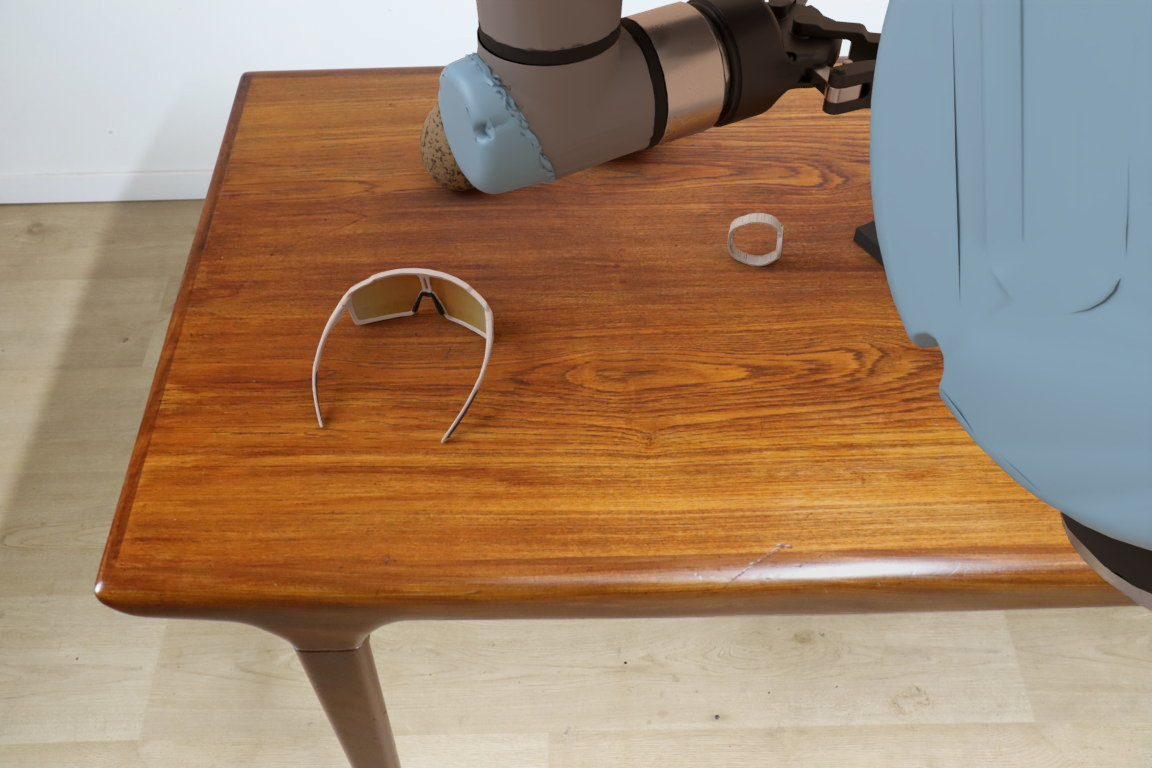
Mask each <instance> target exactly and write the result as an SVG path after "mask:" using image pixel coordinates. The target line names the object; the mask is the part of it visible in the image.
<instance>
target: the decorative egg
mask: <svg viewBox="0 0 1152 768" xmlns="http://www.w3.org/2000/svg"><path fill="white" fill-rule="evenodd" d="M419 152H420V157H421V161H422V164H423V166H424V168H425V170H426V172H427V174H428V175H429V177H430V178H431V179H432V180H433V181H434V182H435V183H436V184H438V185H439V186H441V187H442V188H445V189H446V190H449V191H454V192H465V191H470V190H471V189H474V188H475V187H474V186H473V185H472V184H471V183H470V181H469V180H468V179H467V178H466V176H465V175H464V174H463V172H462V171H461V169H460V168H459V166H458V164H457V162H456V160H455V158H454V156H453V153H452V151H451V148H450V146H449V143H448V140H447V137H446V134H445V131H444V127H443V123H442V119H441V114H440V108H439V101H436V103H435V104H434V105H433V106H432V108H431V109H430V111H429V112H428V113H427V115H426V118H425V120H424V122H423V125H422V127H421V131H420V137H419Z"/></svg>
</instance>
